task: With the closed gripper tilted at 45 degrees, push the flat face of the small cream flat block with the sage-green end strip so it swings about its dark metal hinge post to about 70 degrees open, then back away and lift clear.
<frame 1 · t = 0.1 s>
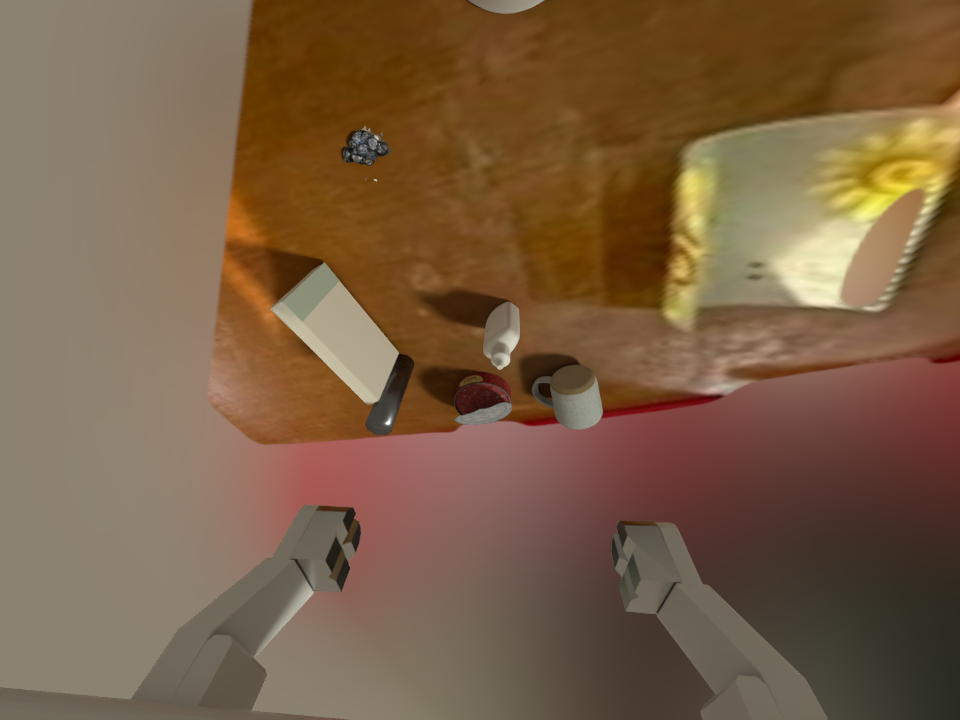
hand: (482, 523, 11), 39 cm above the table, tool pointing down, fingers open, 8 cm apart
hinge post: (403, 362, 58), on the table
blueberries: (366, 154, 39), on the table
cream flat block: (346, 334, 47), point 6 cm above the table, hinge at 0.0°
canned food: (483, 391, 61), on the table
ceramic mug: (564, 382, 58), on the table
eye dropper bottle: (502, 315, 51), on the table
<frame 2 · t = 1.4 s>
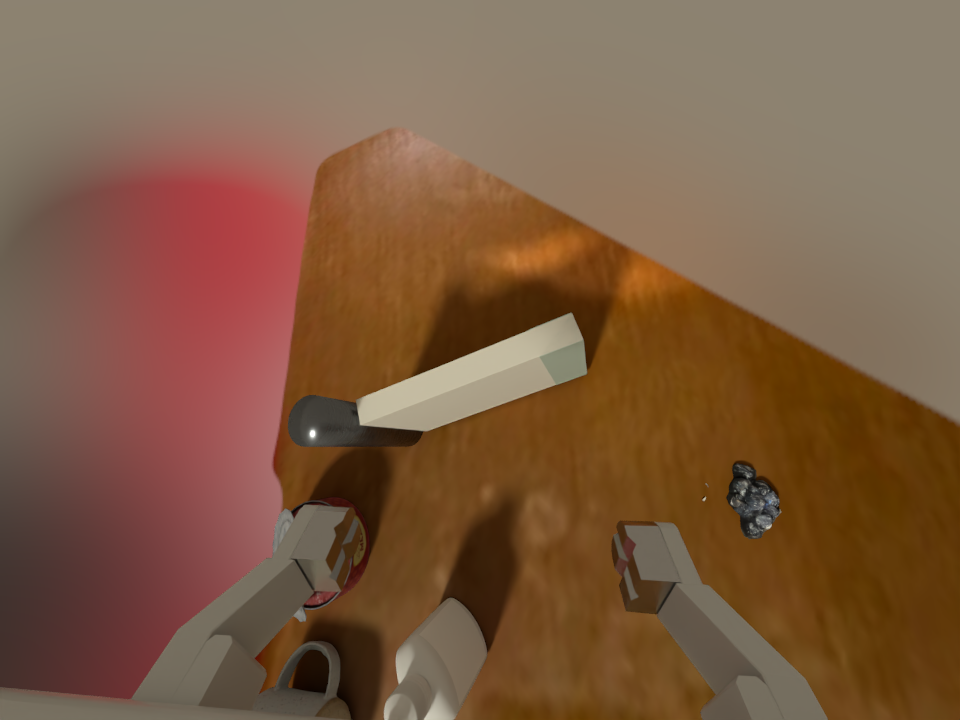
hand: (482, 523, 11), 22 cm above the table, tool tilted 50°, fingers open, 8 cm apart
hinge post: (407, 429, 37), on the table
blueberries: (739, 495, 27), on the table
cream flat block: (482, 385, 29), point 6 cm above the table, hinge at 0.0°
canned food: (333, 545, 37), on the table
ceramic mug: (321, 700, 33), on the table
eye dropper bottle: (462, 629, 31), on the table
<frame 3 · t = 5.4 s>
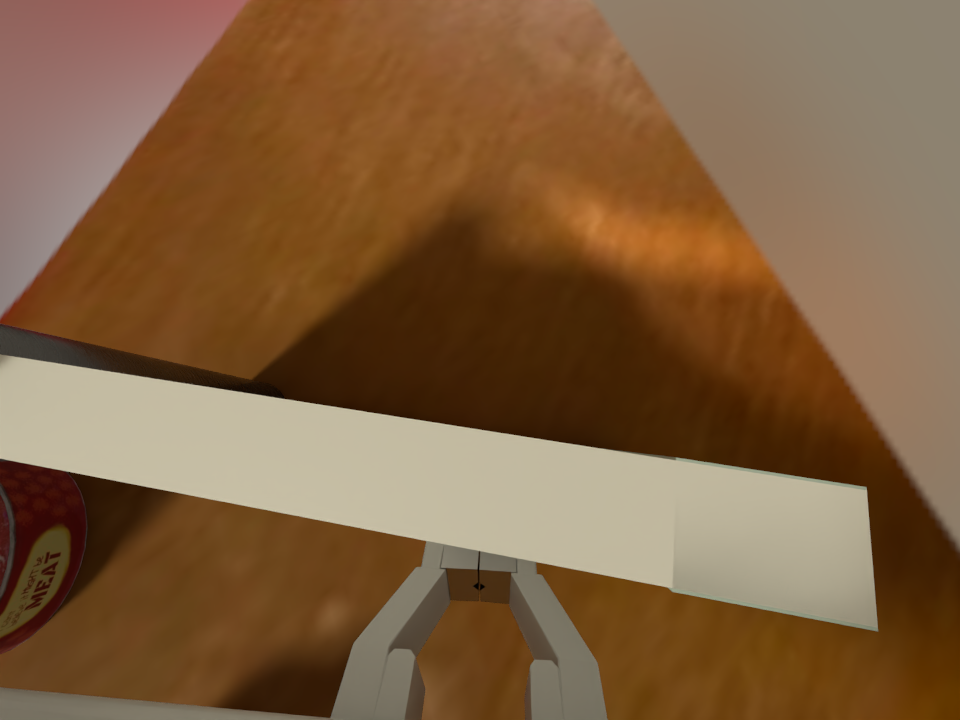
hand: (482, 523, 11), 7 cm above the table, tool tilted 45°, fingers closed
hinge post: (254, 415, 19), on the table
cream flat block: (424, 452, 12), point 6 cm above the table, hinge at 0.2°, touching gripper
canned food: (7, 550, 18), on the table
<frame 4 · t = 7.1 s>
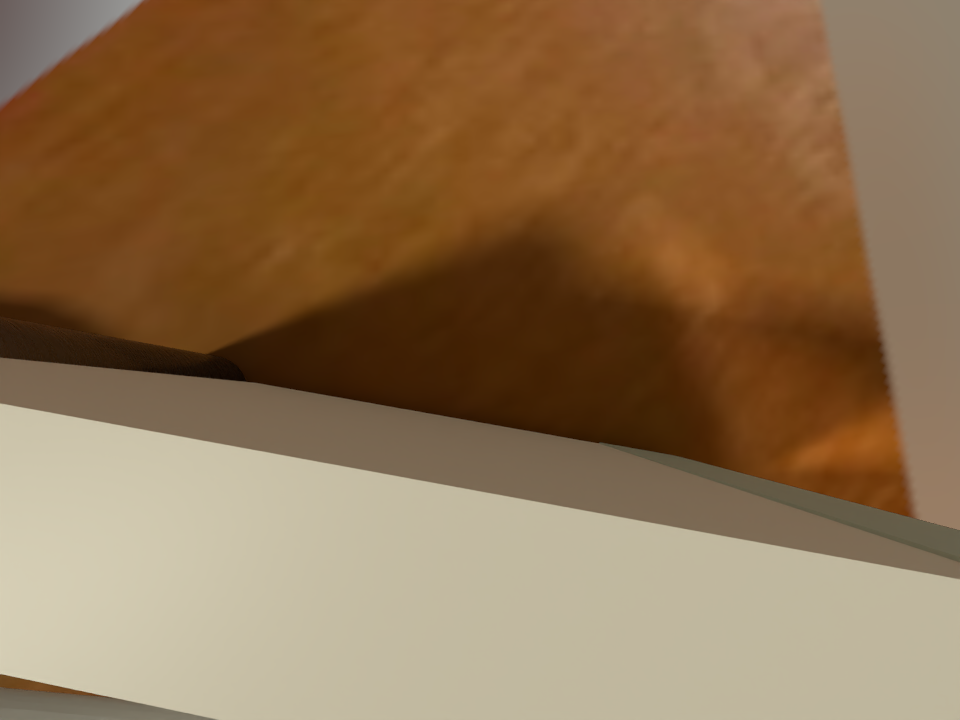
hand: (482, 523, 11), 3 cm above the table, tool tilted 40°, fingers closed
hinge post: (205, 397, 15), on the table
cream flat block: (439, 469, 8), point 6 cm above the table, hinge at 19.3°, touching gripper
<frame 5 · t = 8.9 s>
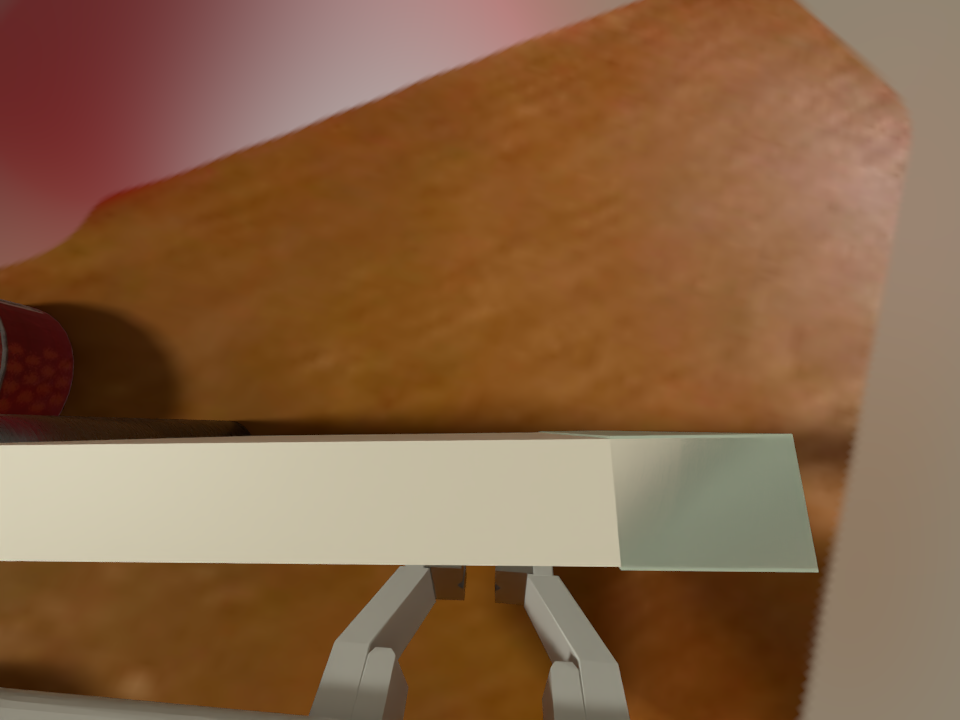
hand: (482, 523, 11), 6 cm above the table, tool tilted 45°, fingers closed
hinge post: (221, 455, 18), on the table
cream flat block: (389, 466, 11), point 6 cm above the table, hinge at 52.6°, touching gripper
canned food: (0, 386, 20), on the table
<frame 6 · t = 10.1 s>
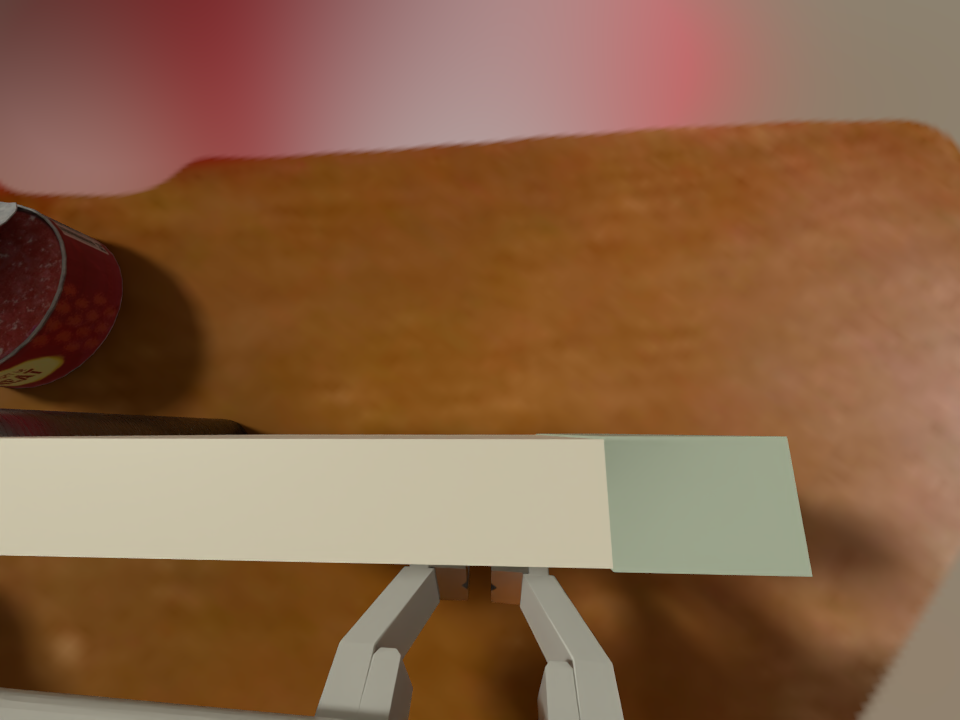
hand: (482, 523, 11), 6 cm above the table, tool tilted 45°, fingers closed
hinge post: (217, 453, 18), on the table
cream flat block: (384, 466, 11), point 6 cm above the table, hinge at 71.7°, touching gripper
canned food: (50, 308, 21), on the table
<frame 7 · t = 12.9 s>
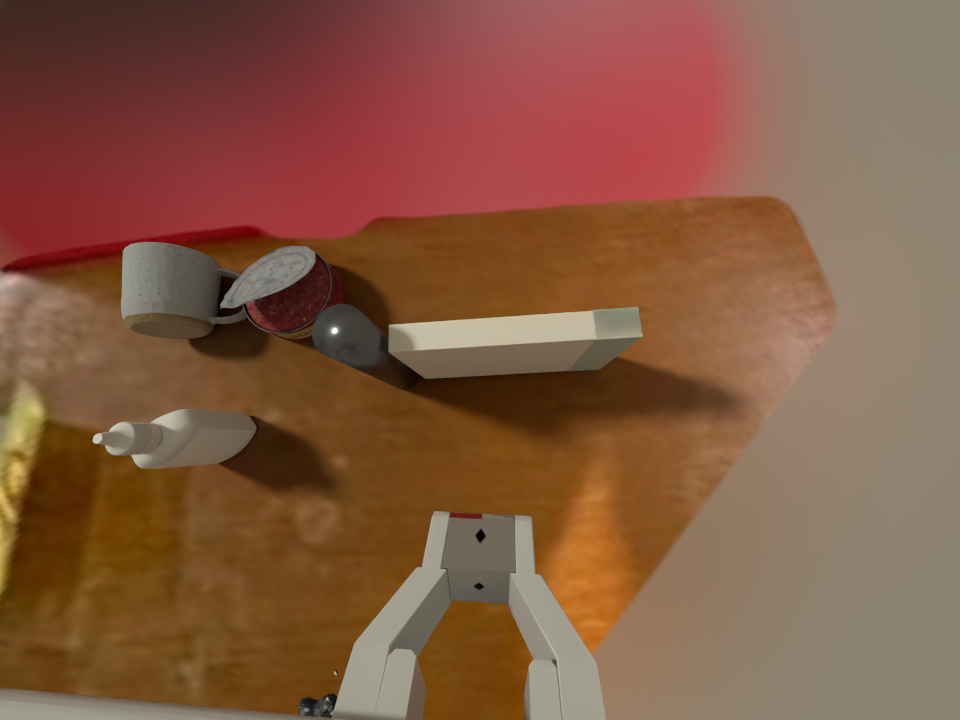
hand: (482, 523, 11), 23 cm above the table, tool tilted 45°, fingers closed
hinge post: (404, 371, 35), on the table
blueberries: (335, 703, 30), on the table
cream flat block: (510, 350, 29), point 6 cm above the table, hinge at 74.6°
canned food: (303, 300, 39), on the table
ceramic mug: (217, 304, 39), on the table
eye dropper bottle: (234, 438, 35), on the table
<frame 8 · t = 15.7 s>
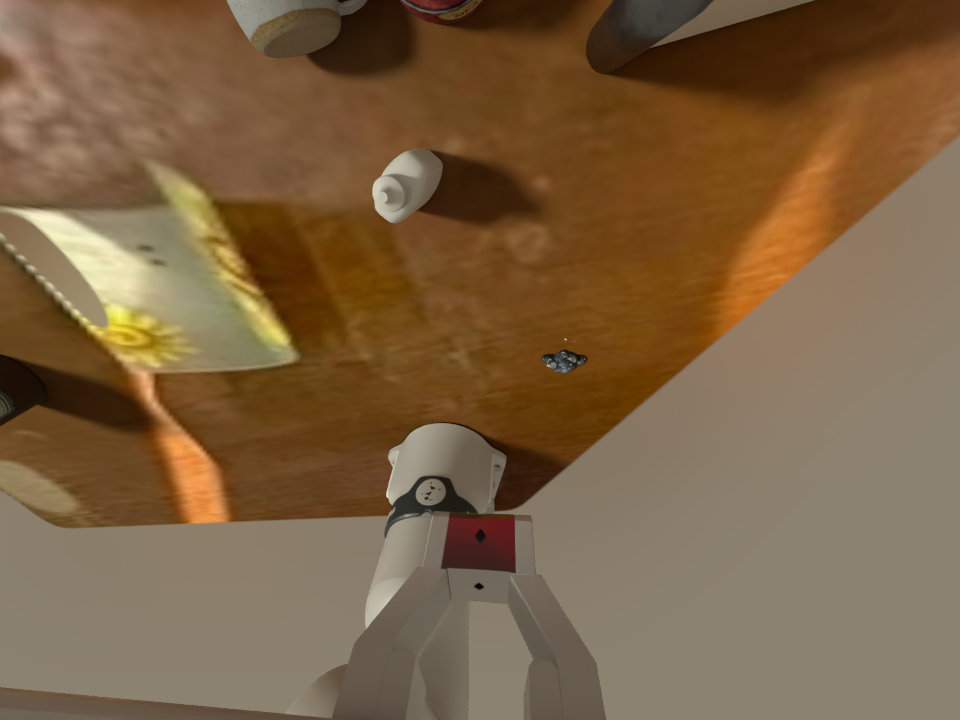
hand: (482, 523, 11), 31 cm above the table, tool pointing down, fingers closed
hinge post: (609, 44, 27), on the table
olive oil: (14, 377, 52), on the table
blueberries: (564, 354, 44), on the table
eye dropper bottle: (420, 180, 34), on the table
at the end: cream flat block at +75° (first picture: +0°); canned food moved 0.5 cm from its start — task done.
